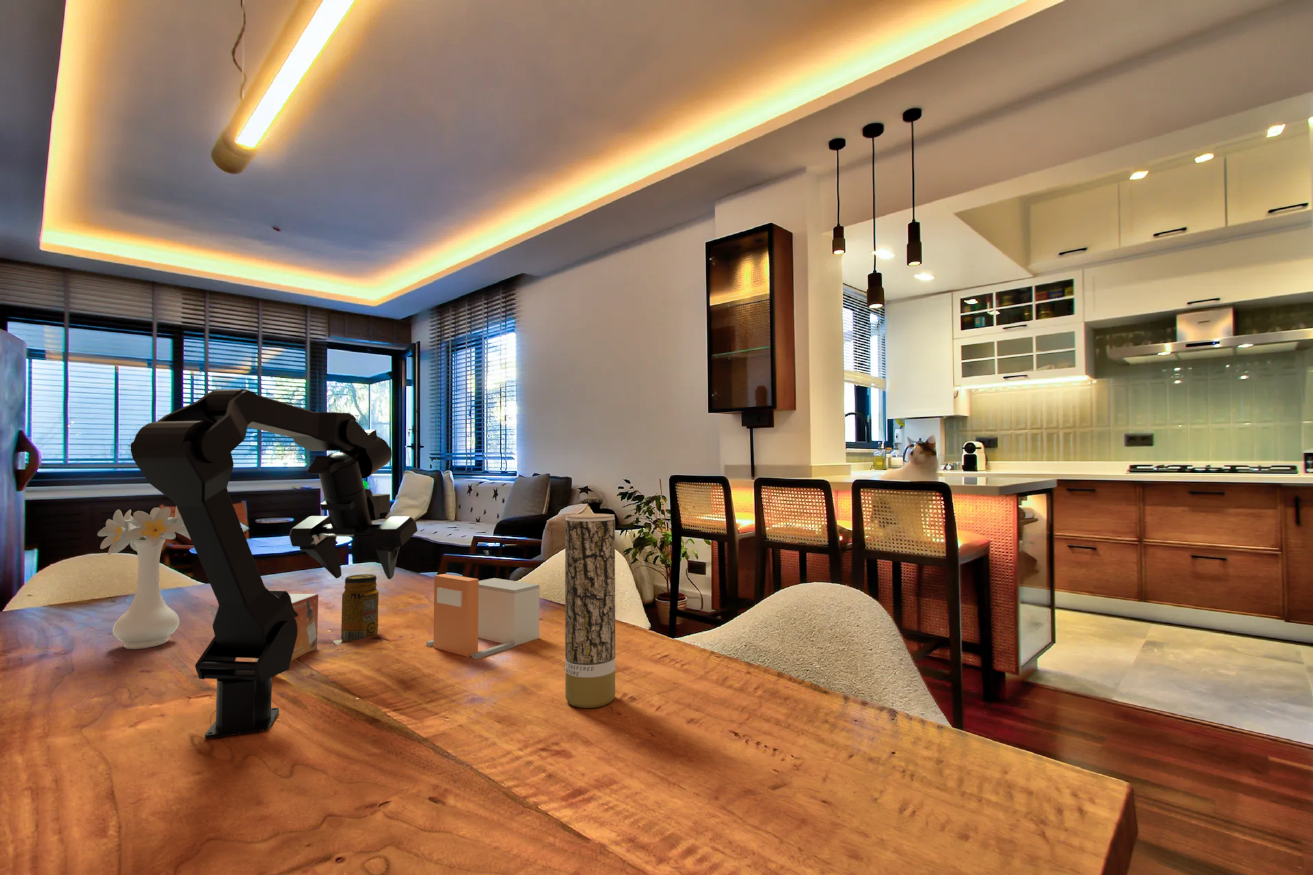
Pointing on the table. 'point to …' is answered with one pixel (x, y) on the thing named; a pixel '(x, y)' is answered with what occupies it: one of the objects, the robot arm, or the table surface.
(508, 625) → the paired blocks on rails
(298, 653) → the small box
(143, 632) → the flower vase
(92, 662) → the table surface
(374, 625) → the condiment
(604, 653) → the paper tube
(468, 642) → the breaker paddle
